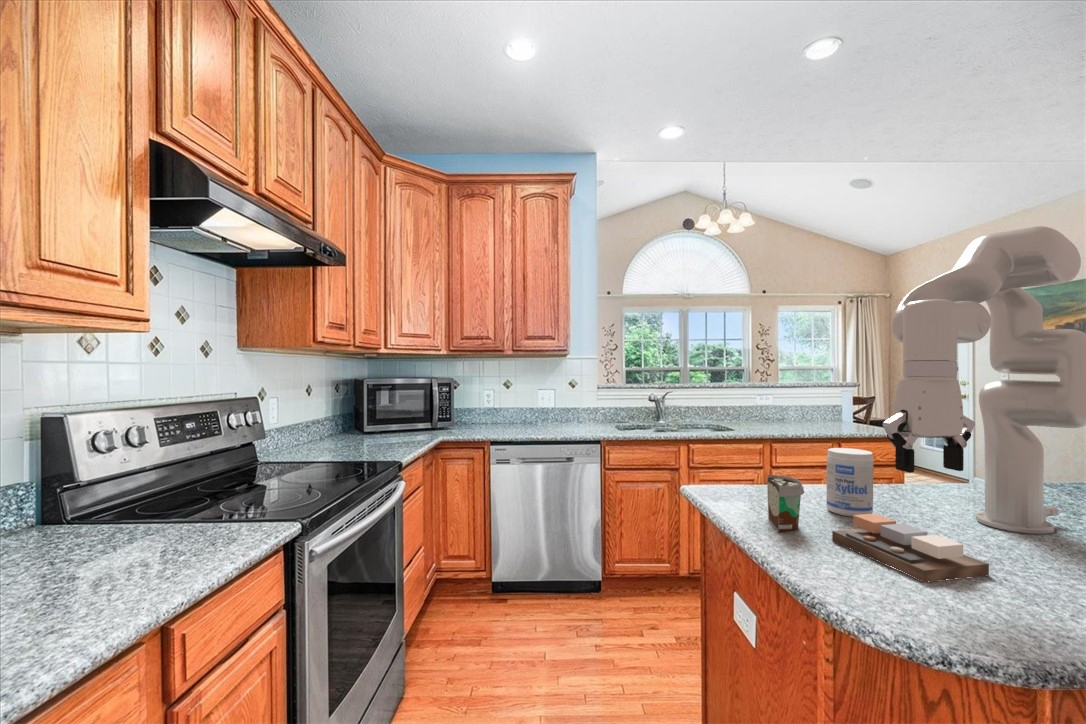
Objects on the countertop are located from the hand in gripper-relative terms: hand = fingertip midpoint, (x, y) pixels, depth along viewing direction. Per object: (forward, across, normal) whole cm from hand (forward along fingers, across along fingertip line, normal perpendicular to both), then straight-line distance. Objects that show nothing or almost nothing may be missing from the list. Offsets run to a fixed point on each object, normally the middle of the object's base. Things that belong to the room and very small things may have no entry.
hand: (929, 470), depth 89 cm
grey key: (+14, -1, -6) cm, 15 cm away
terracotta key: (+14, 0, -12) cm, 19 cm away
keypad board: (+17, -1, -6) cm, 18 cm away
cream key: (+14, -1, +1) cm, 14 cm away
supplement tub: (+17, -12, -32) cm, 38 cm away
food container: (+17, +9, -26) cm, 32 cm away
